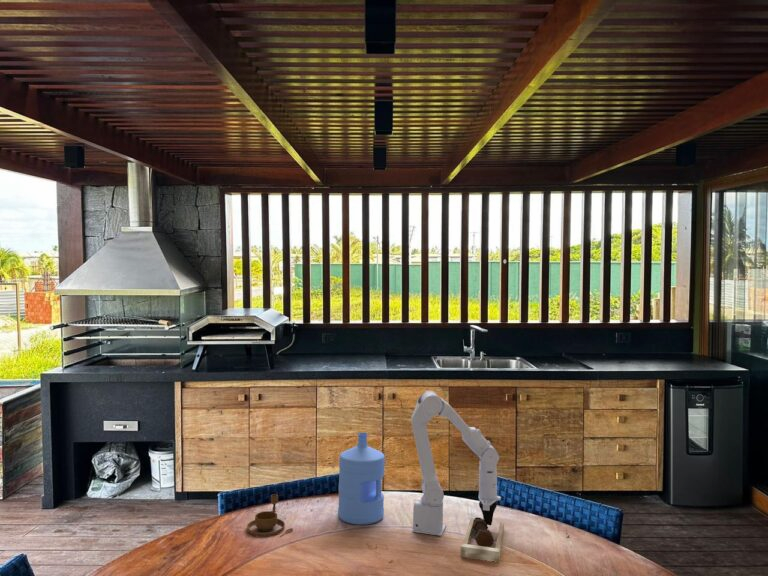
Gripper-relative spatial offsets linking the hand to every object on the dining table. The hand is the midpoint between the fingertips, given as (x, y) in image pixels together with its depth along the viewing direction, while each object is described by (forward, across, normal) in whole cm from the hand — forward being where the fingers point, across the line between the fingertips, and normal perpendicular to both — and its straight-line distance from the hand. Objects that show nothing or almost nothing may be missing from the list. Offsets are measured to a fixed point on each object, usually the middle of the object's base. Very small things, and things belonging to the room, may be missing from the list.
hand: (488, 524), depth 176 cm
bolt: (+2, -7, +2) cm, 7 cm away
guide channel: (+2, -9, +1) cm, 9 cm away
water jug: (+1, -3, +43) cm, 43 cm away
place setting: (+1, -18, +68) cm, 70 cm away
